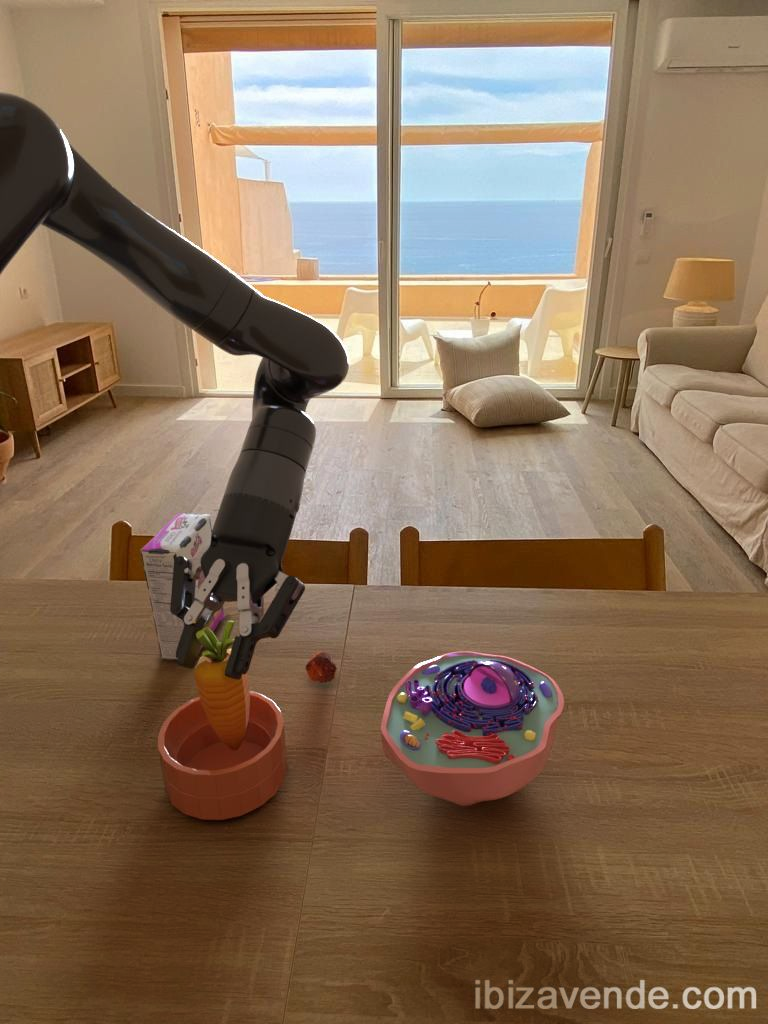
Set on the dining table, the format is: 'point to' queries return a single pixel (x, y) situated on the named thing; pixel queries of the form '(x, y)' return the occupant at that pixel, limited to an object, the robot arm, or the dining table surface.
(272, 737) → the mixing bowl
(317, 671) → the meatball
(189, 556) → the candy bar box
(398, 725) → the cell model
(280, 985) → the dining table surface
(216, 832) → the dining table surface
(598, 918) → the dining table surface
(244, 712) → the carrot
